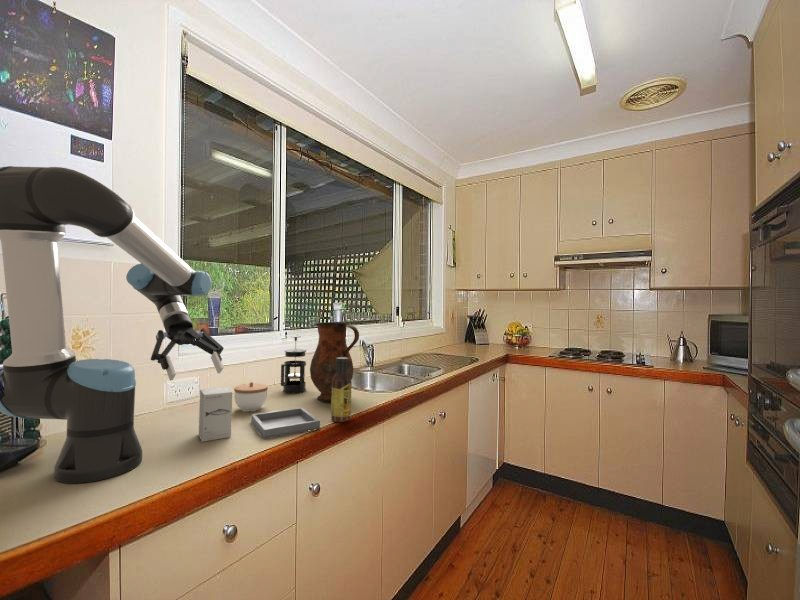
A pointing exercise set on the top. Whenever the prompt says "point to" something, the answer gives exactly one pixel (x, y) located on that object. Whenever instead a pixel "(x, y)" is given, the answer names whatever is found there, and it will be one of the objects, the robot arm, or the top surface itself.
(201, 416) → the supplement box
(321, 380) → the pitcher
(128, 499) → the top surface
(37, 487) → the top surface
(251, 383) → the lidded jar
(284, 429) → the tray
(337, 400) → the sauce bottle
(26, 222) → the robot arm
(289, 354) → the french press
